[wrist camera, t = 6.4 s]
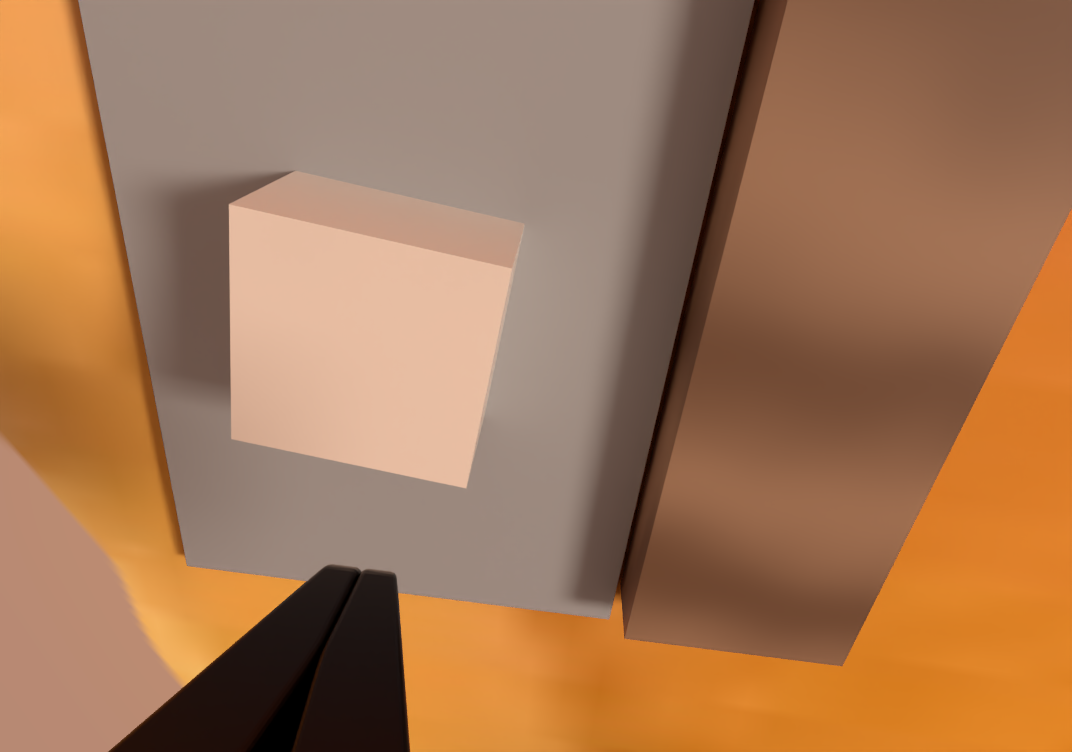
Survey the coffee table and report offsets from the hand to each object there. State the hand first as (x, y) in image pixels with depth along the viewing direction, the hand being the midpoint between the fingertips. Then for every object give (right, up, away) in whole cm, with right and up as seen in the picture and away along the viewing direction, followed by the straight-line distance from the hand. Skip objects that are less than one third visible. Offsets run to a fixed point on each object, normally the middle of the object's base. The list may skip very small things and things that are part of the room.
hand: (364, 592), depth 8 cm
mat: (-1, +4, +8) cm, 9 cm away
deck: (+8, +3, +8) cm, 12 cm away
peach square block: (-1, +4, +7) cm, 9 cm away
